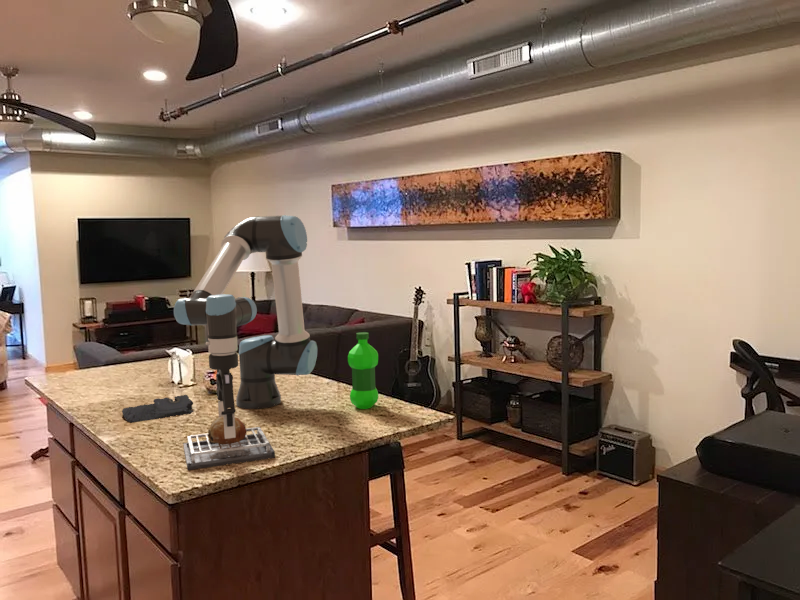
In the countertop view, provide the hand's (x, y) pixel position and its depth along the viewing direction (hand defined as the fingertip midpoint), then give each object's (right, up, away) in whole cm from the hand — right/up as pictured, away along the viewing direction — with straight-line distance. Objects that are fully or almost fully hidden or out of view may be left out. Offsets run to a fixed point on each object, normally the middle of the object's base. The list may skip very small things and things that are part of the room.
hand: (227, 430), depth 180 cm
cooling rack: (0, -6, +1) cm, 6 cm away
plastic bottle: (+35, -1, +45) cm, 56 cm away
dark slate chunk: (-34, -3, +43) cm, 55 cm away
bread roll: (0, -2, +1) cm, 3 cm away
